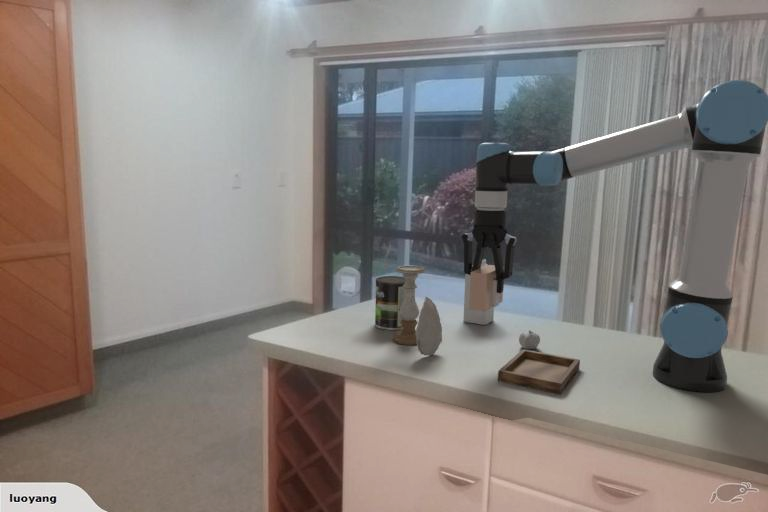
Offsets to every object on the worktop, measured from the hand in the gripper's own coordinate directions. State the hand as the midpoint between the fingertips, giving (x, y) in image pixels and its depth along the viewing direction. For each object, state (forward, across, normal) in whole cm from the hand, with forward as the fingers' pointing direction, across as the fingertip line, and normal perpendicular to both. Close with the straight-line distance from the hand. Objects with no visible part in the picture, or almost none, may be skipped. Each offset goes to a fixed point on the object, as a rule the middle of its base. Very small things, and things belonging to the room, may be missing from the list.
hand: (486, 304), depth 142 cm
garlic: (+15, -6, -16) cm, 23 cm away
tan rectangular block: (0, 0, 0) cm, 0 cm away
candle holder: (+15, +24, -4) cm, 28 cm away
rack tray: (+15, -14, +2) cm, 21 cm away
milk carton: (+15, +14, -33) cm, 39 cm away
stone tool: (+15, +13, +4) cm, 20 cm away
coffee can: (+15, +34, -14) cm, 40 cm away
